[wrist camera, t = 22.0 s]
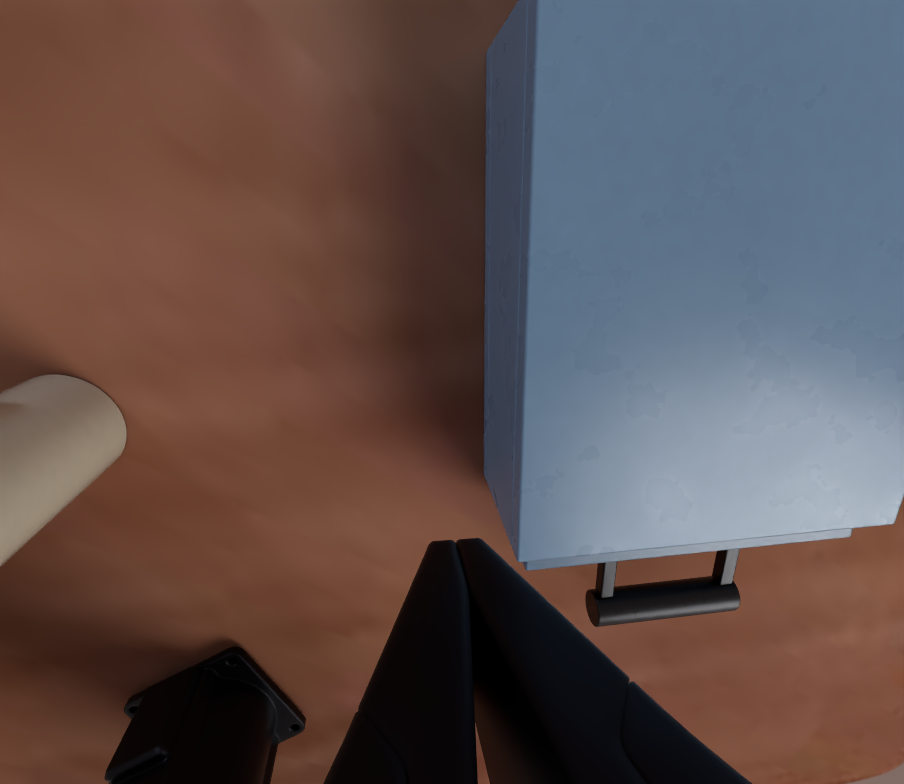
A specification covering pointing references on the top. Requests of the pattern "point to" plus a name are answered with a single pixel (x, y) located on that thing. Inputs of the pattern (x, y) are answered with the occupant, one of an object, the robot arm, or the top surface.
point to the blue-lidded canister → (51, 451)
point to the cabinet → (693, 271)
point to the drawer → (673, 595)
